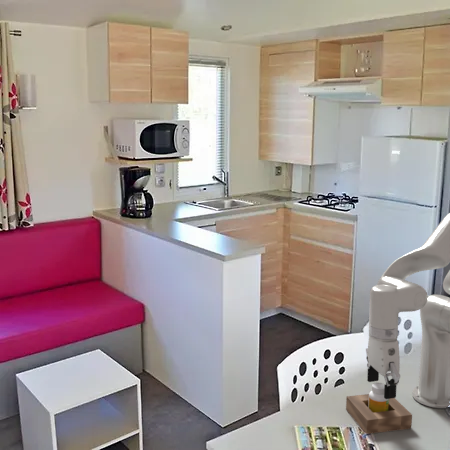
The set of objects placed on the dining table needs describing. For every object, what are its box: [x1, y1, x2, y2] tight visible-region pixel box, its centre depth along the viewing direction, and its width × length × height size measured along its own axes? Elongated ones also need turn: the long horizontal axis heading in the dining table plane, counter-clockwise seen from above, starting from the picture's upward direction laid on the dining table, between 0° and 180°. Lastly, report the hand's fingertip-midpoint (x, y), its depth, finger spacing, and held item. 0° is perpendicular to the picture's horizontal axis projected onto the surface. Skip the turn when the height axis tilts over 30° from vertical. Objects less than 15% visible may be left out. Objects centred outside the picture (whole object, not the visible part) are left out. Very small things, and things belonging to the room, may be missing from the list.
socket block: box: [345, 393, 413, 435], centre depth 154 cm, size 13×13×4 cm
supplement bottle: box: [368, 382, 389, 413], centre depth 154 cm, size 5×5×10 cm
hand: (381, 389), depth 153 cm, fingers open, 9 cm apart
